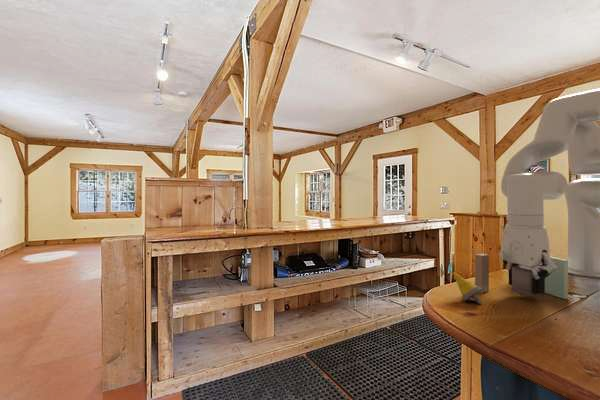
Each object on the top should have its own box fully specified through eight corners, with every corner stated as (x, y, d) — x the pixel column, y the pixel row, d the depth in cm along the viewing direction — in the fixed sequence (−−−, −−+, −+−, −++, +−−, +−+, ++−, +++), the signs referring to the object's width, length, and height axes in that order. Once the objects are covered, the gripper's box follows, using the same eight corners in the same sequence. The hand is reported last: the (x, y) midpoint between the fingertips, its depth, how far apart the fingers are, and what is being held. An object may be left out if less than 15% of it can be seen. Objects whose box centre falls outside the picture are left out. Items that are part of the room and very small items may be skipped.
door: (512, 281, 92) (513, 249, 92) (516, 281, 93) (516, 249, 92) (563, 298, 78) (564, 260, 77) (567, 298, 78) (568, 260, 78)
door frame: (531, 277, 97) (531, 244, 97) (538, 278, 96) (539, 245, 95) (475, 291, 85) (475, 254, 85) (481, 293, 83) (482, 255, 83)
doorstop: (520, 286, 83) (519, 264, 82) (545, 292, 77) (545, 269, 77) (507, 290, 80) (506, 268, 80) (532, 297, 75) (532, 273, 74)
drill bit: (473, 309, 73) (443, 275, 79) (472, 311, 78) (444, 279, 83) (492, 297, 73) (461, 264, 78) (490, 300, 77) (461, 268, 83)
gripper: (486, 218, 86) (487, 280, 87) (546, 226, 69) (546, 302, 70) (508, 216, 87) (509, 277, 88) (572, 223, 70) (573, 299, 71)
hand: (525, 288), depth 79 cm, fingers closed on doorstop, 6 cm apart
